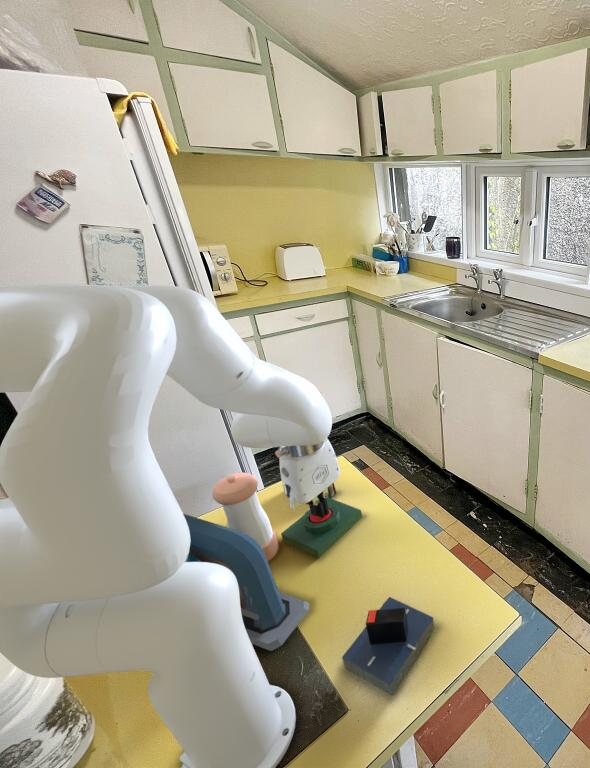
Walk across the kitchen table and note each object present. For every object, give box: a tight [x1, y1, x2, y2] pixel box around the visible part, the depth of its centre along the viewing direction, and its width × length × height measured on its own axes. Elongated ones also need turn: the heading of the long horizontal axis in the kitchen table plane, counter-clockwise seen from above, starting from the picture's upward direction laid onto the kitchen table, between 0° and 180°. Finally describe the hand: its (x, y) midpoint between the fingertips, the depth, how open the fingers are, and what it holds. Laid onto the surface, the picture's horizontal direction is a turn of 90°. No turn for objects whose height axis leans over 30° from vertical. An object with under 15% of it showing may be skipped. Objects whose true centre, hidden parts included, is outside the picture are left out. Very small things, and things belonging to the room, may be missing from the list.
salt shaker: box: [211, 472, 280, 562], centre depth 78 cm, size 7×7×19 cm
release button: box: [310, 509, 332, 523], centre depth 86 cm, size 4×4×2 cm
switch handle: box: [365, 608, 408, 645], centre depth 63 cm, size 6×2×5 cm, turn 96°
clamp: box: [183, 513, 311, 652], centre depth 68 cm, size 35×9×21 cm, turn 73°
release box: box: [280, 497, 363, 559], centre depth 87 cm, size 12×10×4 cm
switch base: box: [341, 596, 435, 696], centre depth 65 cm, size 11×10×3 cm
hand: (320, 513), depth 86 cm, fingers closed
